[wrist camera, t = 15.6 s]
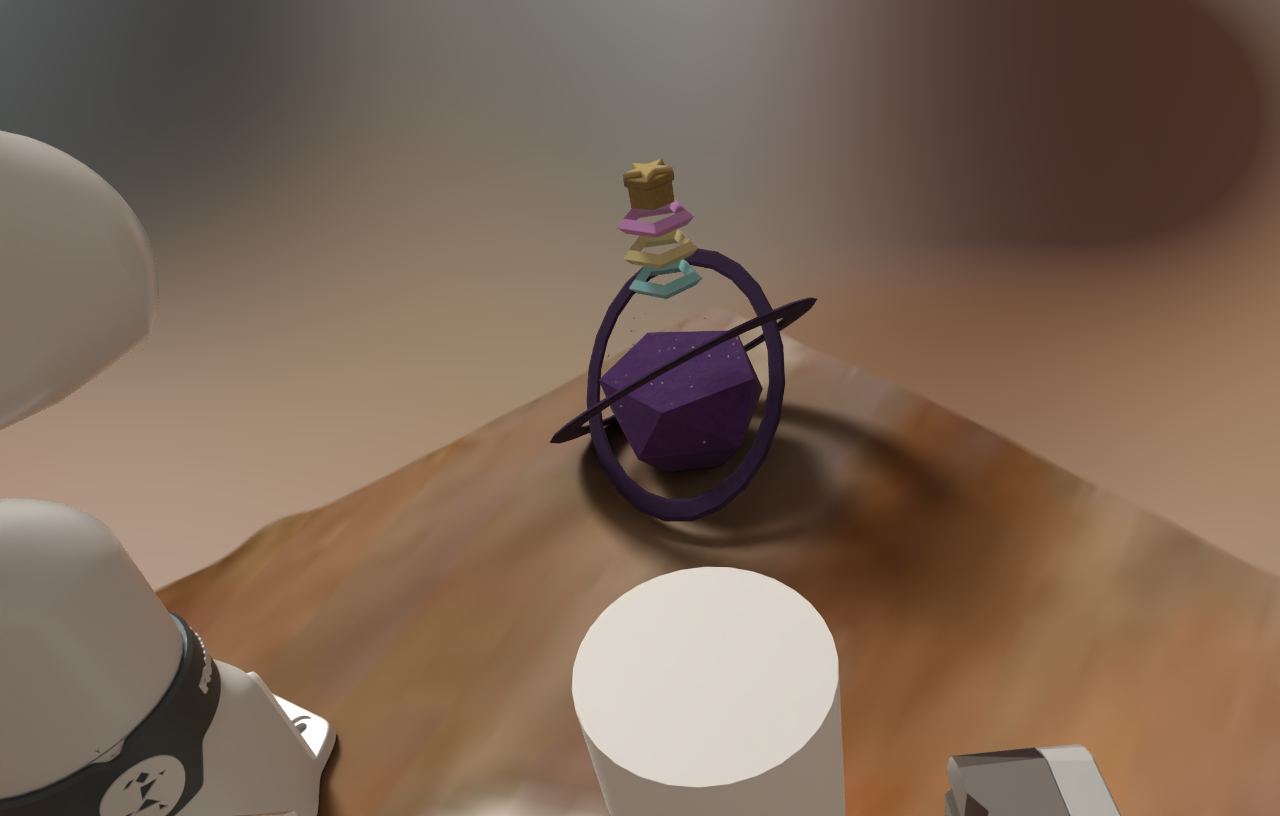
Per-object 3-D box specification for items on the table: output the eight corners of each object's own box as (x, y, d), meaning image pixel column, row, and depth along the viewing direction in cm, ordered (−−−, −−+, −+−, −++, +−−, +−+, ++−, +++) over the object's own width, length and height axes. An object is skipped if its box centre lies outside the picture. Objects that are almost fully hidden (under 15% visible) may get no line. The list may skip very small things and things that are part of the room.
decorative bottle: (716, 355, 86) (683, 101, 72) (878, 442, 70) (875, 141, 56) (523, 457, 77) (442, 190, 63) (660, 582, 61) (593, 265, 47)
